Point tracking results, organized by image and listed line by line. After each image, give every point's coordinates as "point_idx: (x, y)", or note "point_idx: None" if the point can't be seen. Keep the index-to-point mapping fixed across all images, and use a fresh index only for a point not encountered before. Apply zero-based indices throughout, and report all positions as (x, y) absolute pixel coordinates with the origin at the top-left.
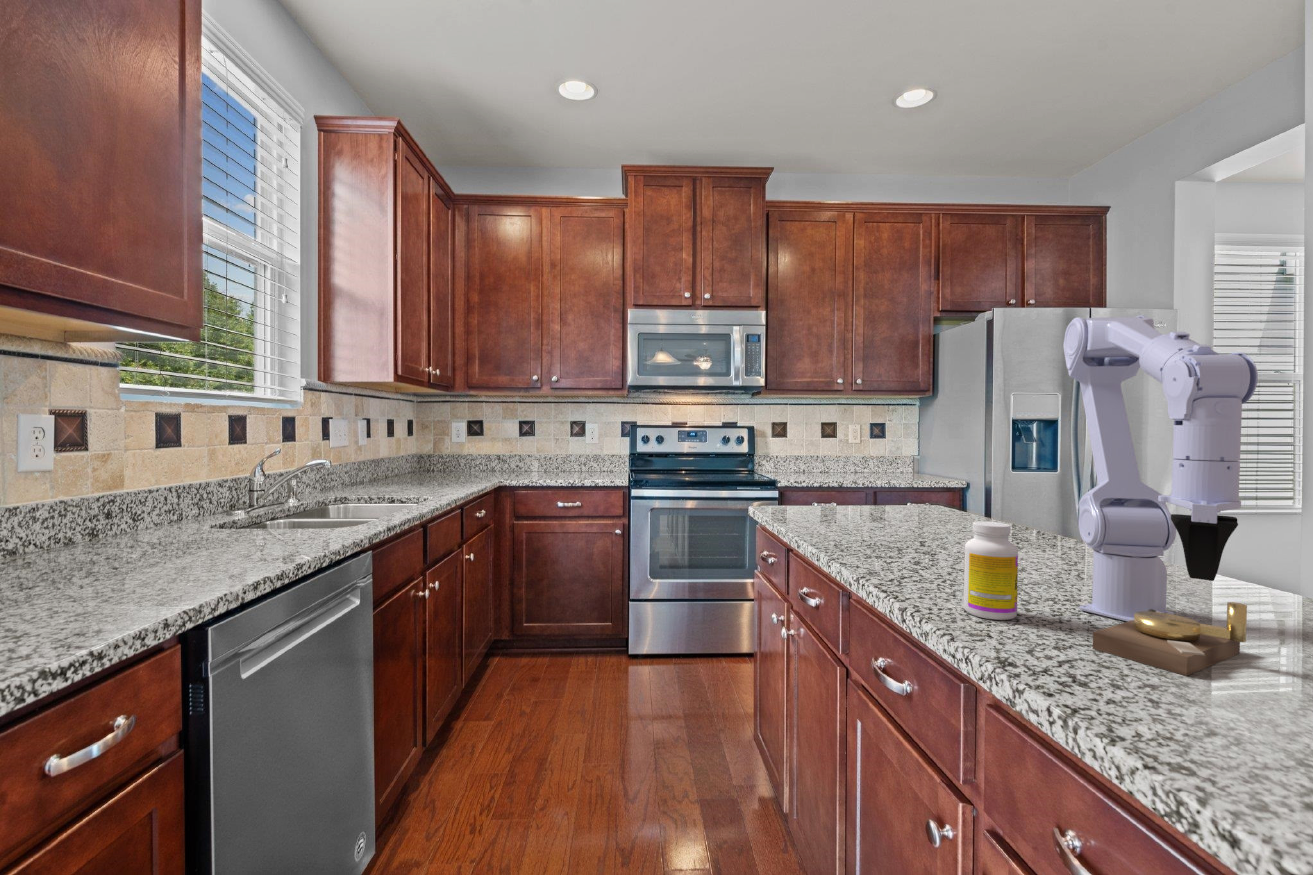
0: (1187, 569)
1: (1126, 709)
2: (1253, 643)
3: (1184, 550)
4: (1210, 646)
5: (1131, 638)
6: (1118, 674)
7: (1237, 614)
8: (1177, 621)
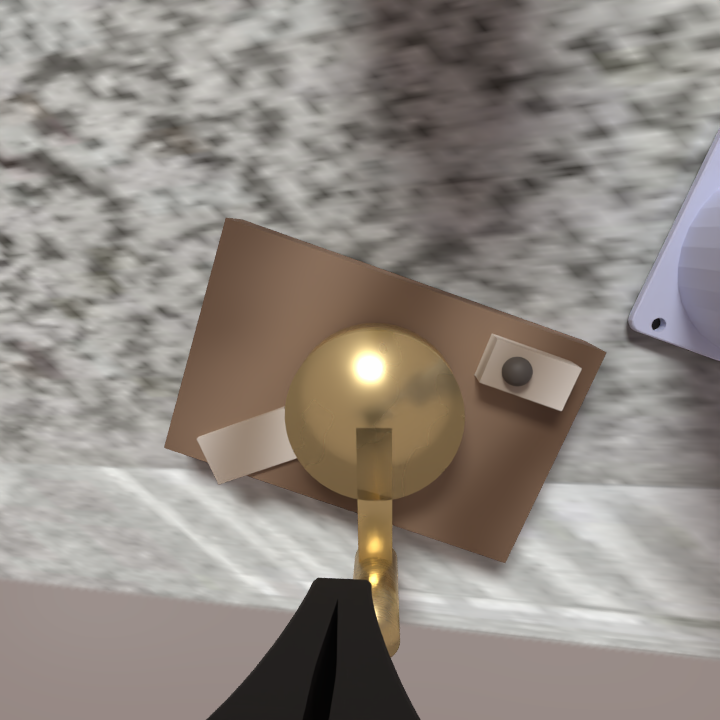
0: (306, 596)
1: None
2: (632, 567)
3: (260, 666)
4: (328, 496)
5: (241, 322)
6: (65, 298)
7: None
8: (369, 447)
